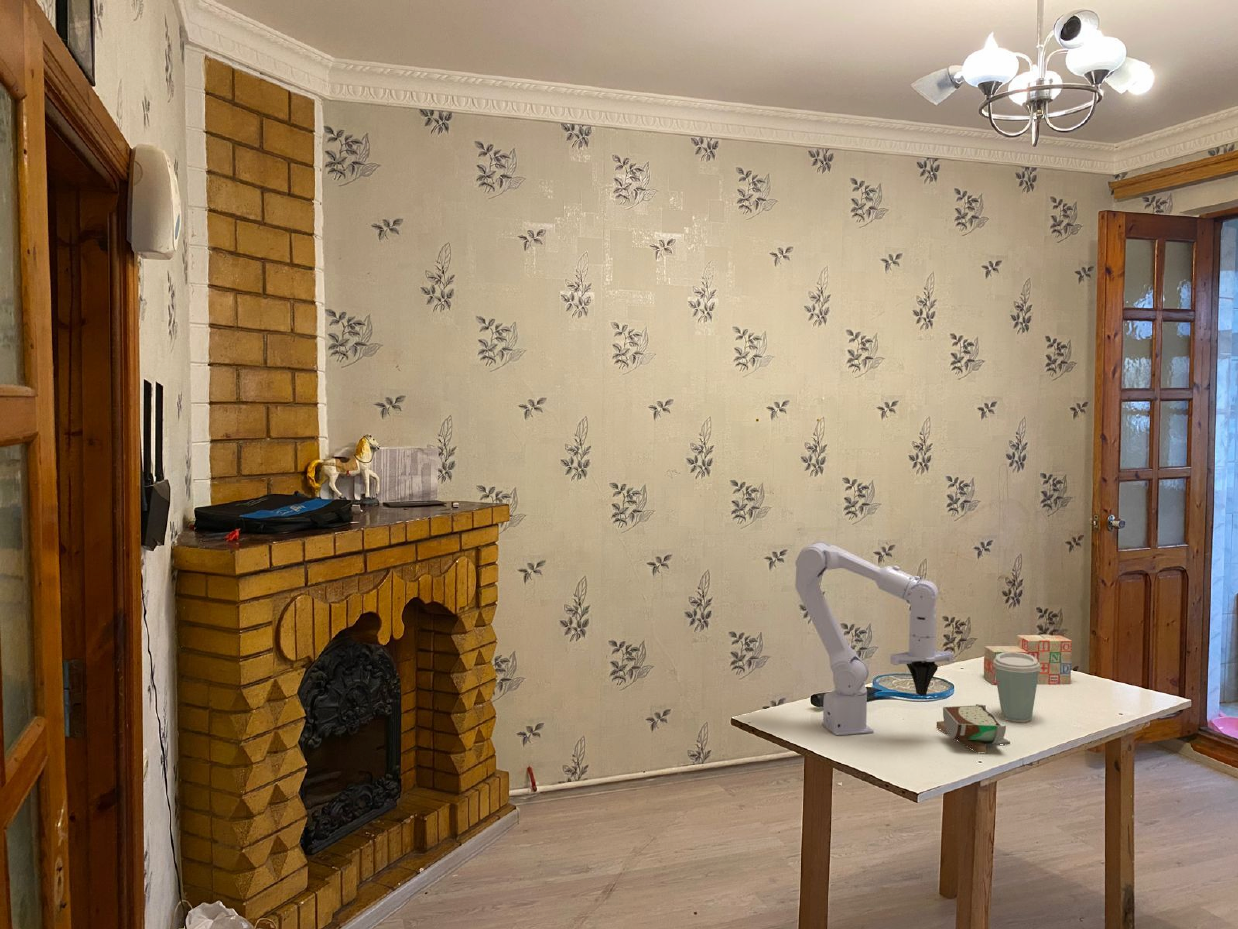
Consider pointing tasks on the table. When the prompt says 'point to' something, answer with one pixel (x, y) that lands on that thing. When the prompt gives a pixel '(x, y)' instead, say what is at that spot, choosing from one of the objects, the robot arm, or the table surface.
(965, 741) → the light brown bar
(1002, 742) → the rubber mat
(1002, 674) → the disposable coffee cup
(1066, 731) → the table surface
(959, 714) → the food container
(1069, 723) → the table surface
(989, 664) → the stack of blocks
